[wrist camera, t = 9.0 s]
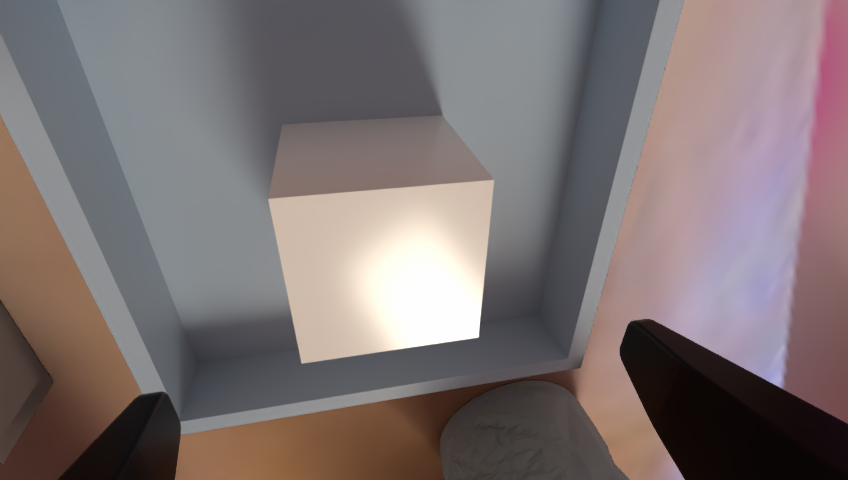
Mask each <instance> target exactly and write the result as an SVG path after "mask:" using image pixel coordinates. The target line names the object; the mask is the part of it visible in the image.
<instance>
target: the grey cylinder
mask: <svg viewBox="0 0 848 480" xmlns="http://www.w3.org/2000/svg"><path fill="white" fill-rule="evenodd" d="M440 456H441V462H442V469H443V476H444V480H630V479H629V478H628V477H627V476H626V475H625V474H624V473H623V472H622V471H621V470H620V469H619V468H618V467H617V466H616V465H615V463H614V461H613V459H612V456H611V455H610V453H609V450H608V447H607V445H606V443H605V442H604V440H603V439H602V437H601V435H600V433H599V432H598V430H597V428H596V427H595V425H594V424H593V422H592V421H591V419H590V418H589V416H588V415H587V413H586V412H585V411H584V409H583V408H582V406H581V405H580V403H579V402H578V400H577V399H576V398H575V396H574V395H573V394H572V393H570V392H569V391H568V390H567V389H565V388H564V387H563V386H560V385H558V384H555V383H552V382H548V381H541V380H528V381H518V382H514V383H509V384H506V385H503V386H499V387H496V388H494V389H491V390H489V391H487V392H485V393H483V394H481V395H479V396H477V397H475V398H474V399H472V400H471V401H469V402H468V403H467V404H465V405H464V406H463V407H461V408H460V409H459V410H458V411H457V412H456V413H455V414H454V415H453V416H452V417H451V418H450V420H449V421H448V423H447V424H446V426H445V428H444V430H443V432H442V434H441V439H440Z"/></svg>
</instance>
